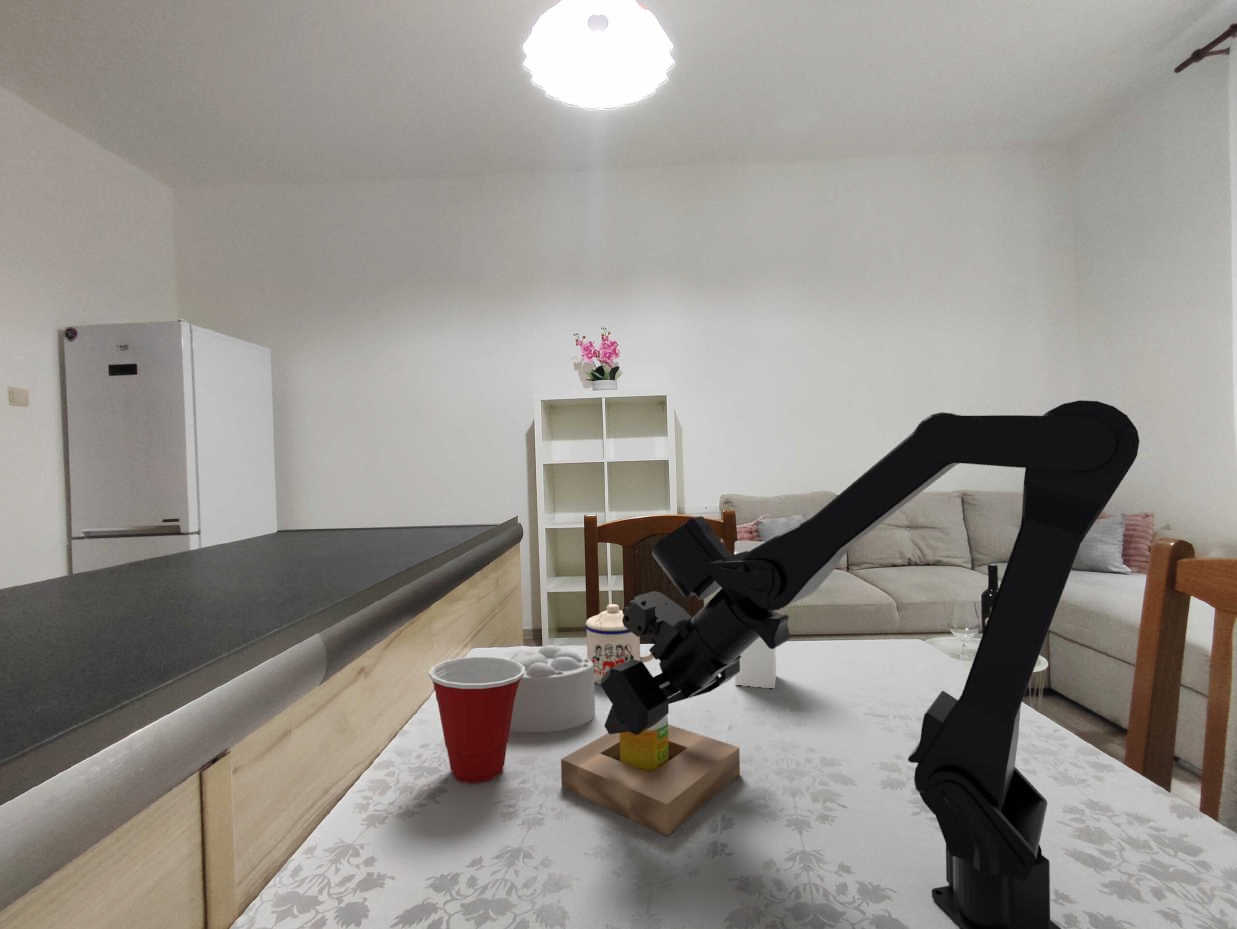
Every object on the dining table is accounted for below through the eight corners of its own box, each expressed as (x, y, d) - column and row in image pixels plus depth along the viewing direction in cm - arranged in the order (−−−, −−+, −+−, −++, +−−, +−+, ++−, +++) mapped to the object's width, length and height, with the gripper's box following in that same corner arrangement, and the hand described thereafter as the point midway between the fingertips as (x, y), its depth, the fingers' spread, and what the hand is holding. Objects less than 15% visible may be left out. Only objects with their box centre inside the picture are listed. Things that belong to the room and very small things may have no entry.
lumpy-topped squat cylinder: (511, 700, 89) (509, 642, 89) (598, 700, 89) (597, 641, 89) (492, 732, 79) (491, 666, 79) (591, 732, 78) (589, 666, 78)
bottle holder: (739, 774, 67) (739, 747, 67) (667, 836, 56) (667, 804, 56) (640, 738, 76) (639, 715, 76) (561, 786, 65) (561, 758, 65)
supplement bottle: (665, 793, 64) (664, 701, 64) (615, 788, 65) (614, 698, 65) (671, 767, 69) (670, 682, 69) (625, 763, 70) (623, 680, 70)
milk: (738, 672, 99) (735, 538, 99) (776, 675, 97) (773, 539, 97) (734, 686, 93) (731, 543, 93) (775, 689, 91) (772, 544, 91)
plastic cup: (546, 770, 69) (543, 666, 69) (458, 808, 62) (455, 691, 62) (497, 738, 77) (495, 645, 77) (415, 768, 70) (412, 665, 70)
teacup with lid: (584, 687, 94) (582, 612, 94) (588, 667, 103) (586, 599, 103) (661, 686, 93) (660, 611, 93) (658, 666, 103) (657, 598, 102)
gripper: (715, 559, 71) (642, 636, 79) (613, 587, 57) (536, 678, 64) (778, 637, 66) (695, 711, 74) (685, 689, 52) (592, 775, 59)
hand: (633, 715), depth 68 cm, fingers open, 9 cm apart
